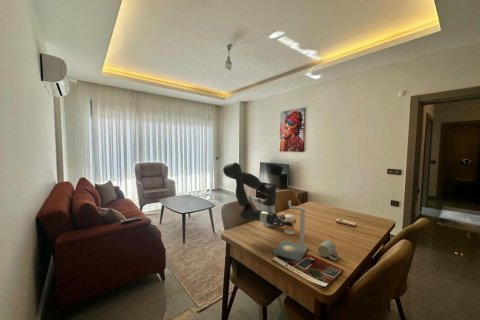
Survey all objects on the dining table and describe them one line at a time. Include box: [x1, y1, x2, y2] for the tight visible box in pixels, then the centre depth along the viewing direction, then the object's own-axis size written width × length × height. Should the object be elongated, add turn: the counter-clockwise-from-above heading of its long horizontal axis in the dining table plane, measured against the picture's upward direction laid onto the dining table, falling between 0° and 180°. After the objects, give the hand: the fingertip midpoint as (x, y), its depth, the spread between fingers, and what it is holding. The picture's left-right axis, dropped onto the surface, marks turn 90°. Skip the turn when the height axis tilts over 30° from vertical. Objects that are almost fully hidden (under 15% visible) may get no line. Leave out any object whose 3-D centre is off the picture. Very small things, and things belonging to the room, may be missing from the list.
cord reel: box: [283, 214, 296, 235], centre depth 122 cm, size 6×6×10 cm
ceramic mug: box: [317, 240, 339, 261], centre depth 117 cm, size 11×8×8 cm
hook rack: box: [272, 200, 309, 263], centre depth 122 cm, size 18×16×31 cm
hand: (293, 223), depth 121 cm, fingers closed on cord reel, 5 cm apart
